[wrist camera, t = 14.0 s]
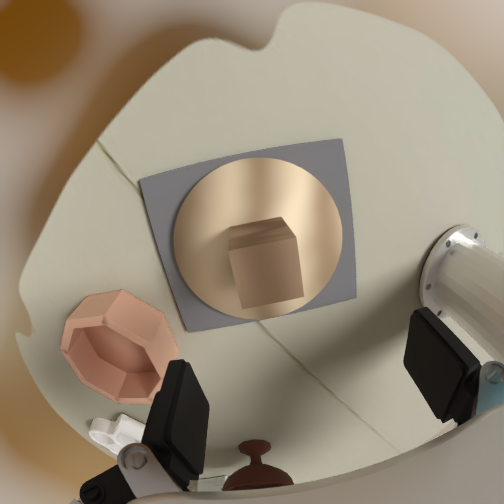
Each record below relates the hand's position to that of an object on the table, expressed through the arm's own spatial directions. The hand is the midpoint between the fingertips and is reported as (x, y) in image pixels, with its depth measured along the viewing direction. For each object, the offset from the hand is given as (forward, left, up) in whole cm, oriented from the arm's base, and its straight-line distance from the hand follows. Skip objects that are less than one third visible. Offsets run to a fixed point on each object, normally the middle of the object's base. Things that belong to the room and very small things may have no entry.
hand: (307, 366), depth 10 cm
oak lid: (+1, 0, -15) cm, 15 cm away
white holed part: (+27, +31, -16) cm, 44 cm away
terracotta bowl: (+18, +8, -16) cm, 25 cm away
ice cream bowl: (+8, +35, -16) cm, 39 cm away
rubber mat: (+1, 0, -16) cm, 16 cm away
